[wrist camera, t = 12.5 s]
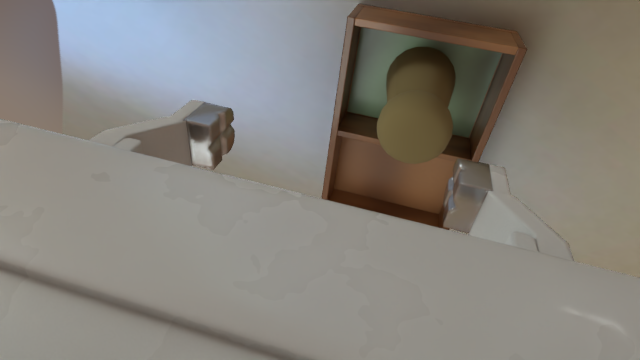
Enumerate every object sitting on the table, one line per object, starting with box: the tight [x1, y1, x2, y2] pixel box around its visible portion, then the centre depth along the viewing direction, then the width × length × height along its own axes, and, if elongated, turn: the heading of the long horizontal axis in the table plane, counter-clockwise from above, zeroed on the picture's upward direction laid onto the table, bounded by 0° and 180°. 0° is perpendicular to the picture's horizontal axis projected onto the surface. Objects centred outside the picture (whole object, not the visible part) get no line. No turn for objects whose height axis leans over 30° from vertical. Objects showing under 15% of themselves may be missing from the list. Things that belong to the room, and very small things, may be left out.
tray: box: [322, 4, 527, 230], centre depth 36 cm, size 13×20×5 cm, turn 173°
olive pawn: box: [377, 47, 456, 164], centre depth 30 cm, size 6×6×11 cm
